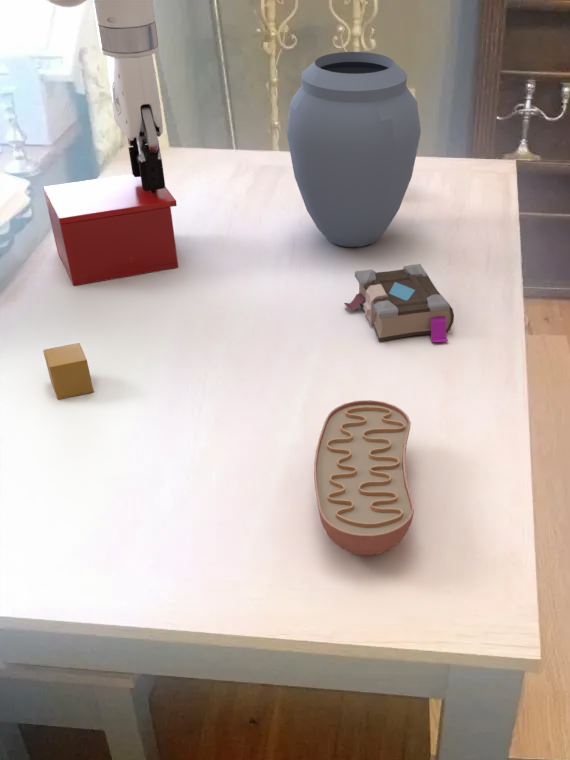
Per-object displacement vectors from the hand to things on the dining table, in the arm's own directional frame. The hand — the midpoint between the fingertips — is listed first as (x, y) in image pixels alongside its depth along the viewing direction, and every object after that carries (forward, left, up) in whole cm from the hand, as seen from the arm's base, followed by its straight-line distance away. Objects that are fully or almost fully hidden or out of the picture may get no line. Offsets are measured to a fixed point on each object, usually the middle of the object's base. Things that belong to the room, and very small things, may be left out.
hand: (148, 180), depth 130 cm
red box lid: (-6, -2, -2) cm, 6 cm away
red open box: (-6, -2, -11) cm, 12 cm away
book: (+34, -21, -11) cm, 41 cm away
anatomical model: (+27, -62, -11) cm, 69 cm away
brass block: (-7, -38, -11) cm, 40 cm away
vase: (+30, +4, -11) cm, 32 cm away
